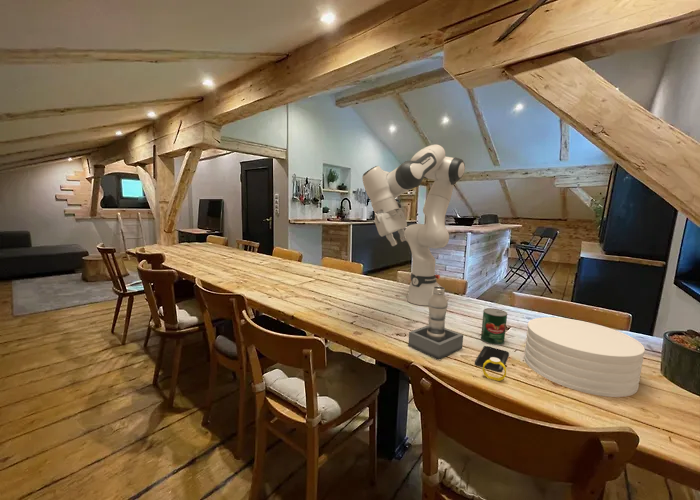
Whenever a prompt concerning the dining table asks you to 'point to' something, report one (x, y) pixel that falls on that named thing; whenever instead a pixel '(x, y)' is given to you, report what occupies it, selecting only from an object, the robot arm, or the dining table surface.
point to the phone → (487, 354)
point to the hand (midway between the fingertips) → (399, 243)
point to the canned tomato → (493, 326)
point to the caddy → (435, 343)
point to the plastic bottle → (437, 315)
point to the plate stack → (584, 356)
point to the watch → (494, 361)
